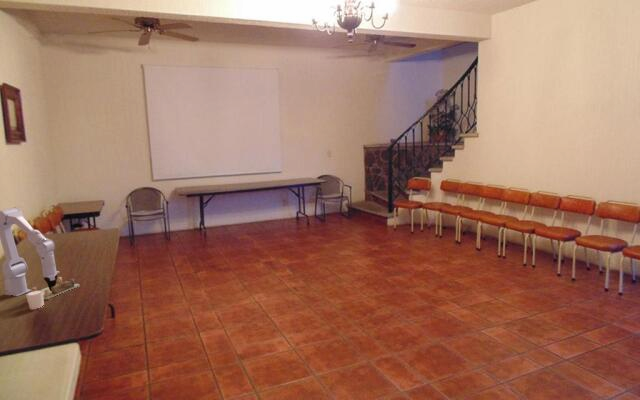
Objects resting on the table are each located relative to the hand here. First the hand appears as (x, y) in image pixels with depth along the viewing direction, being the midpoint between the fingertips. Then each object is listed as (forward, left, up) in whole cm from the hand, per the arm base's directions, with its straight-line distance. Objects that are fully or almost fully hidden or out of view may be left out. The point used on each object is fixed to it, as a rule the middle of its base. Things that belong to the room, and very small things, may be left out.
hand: (52, 290), depth 222 cm
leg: (+3, +4, 0) cm, 5 cm away
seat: (-3, +3, -2) cm, 5 cm away
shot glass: (+7, -14, -2) cm, 16 cm away
